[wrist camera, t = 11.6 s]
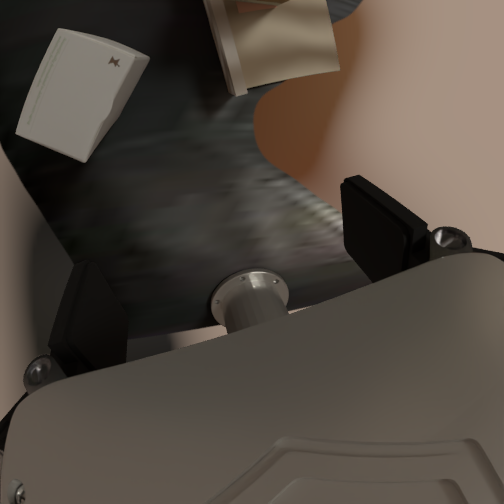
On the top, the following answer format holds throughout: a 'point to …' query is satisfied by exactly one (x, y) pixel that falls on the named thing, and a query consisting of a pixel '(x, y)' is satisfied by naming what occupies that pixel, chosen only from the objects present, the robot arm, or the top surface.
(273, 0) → the skincare box
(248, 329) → the robot arm
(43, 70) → the skincare box
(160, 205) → the top surface
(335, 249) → the top surface
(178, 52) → the top surface
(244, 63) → the tray
